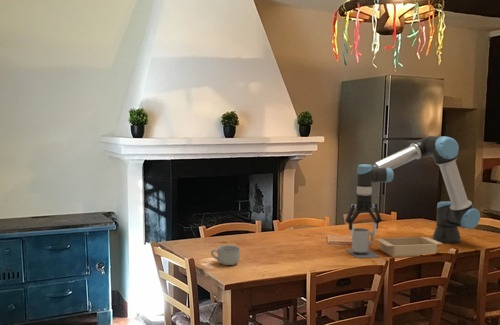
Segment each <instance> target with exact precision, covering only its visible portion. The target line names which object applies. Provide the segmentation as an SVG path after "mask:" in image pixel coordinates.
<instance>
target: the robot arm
mask: <svg viewBox="0 0 500 325" xmlns="http://www.w3.org/2000/svg"><path fill="white" fill-rule="evenodd" d="M459 147H460V146H459V143H458V142H457V140H455V139H454V138H452V137H450V136H445V135H444V136H437V135H436V136H435V135H430V136H427V137H423V138H421V139H419V140H418V139H417V141H414V142H412V143H411V144H409V146H408V147H406V148H403V149H401V150H399V151H397V152H395V153H392V154H391V155H388V156H386V157H384V158H382V159H380V160H377V161H375V162H374V163H373V162H372V163H371V164H370V163H369V164H368V163H367V164H366V163H365V164H364V163H363V164H361V163H360V164H358V165H357V170H356V203H355V204H353V203H351V204H350V207H349V210H348V212H347V216H346V218H345V223H347V224H348V230H350V234H349V235H350V237H351V238H352V237H354V228H355V220H356V219H357V217H358V216H359V214H361V213H368V214H369V216H370V218H371V219H372V220H373V222H372V233H373V237H374V236H375V237H376V236H377V230H378V229H379V223H381V222H382V220H383V219H382V217H381V214H380V211H379V209H378V204H377V203H374V202H373V201H372V193H373V190H372V189H373V183H374V184H375V183H391V182H393V180H394V177H395V176H394V175H395V173H394V171H393V170H394V169H396V168H399V167H401V166H402V165H405V164H407V163H409V162H411V161H413V160H420V159H423V158H429V157H430V158H432V159H433V160H434V163H435V164H436V165H437V166H439V170H440V172H441V175H442V178H443V181H444V185H445V188H446V190H447V194H448V196H449V200H450V201H439V202H437V207H436V226H435V229H434V232H433V234H432V239H433V240H436V241H438V242H440V243H443V244H444V243H445V244H458V243H461V240H462V238H461V234H460V232H459V227H460V228H463V229H468V230H469V229H471V230H472V229H474V228H475V227H477V226H478V224H479V222H480V221H481V213H480V211H479V209H477V208H474V206H473V203H472V201H471V200H469V199H468V197H467V193H466V191H465V187H464V184H463V181H462V178H461V175H460V171H459V169H458V165H457V161H456V160H457V159H458V155H459V151H460V148H459ZM372 202H373V203H372ZM355 209H356V210H355ZM372 209H373V211H374V213H373V211H372ZM354 211H355V212H354Z"/></svg>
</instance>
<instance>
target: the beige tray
mask: <svg viewBox="0 0 500 325" xmlns="http://www.w3.org/2000/svg"><path fill="white" fill-rule="evenodd" d="M374 240H375V241H377V242H379V250H381V251H382V252H384V253H385V254H387V255H389V256H391V257H392V258H402V257H403V258H406V257H407V258H408V257H409V258H410V256H411V257H418V256H417V255H423V254H430V253H437V254H438V245H443V244H444V243H443V242H438V241H436V240H433V238H431V237H428V236H412V237H411V236H410V237H408V236H407V237H406V236H405V237H383V238H374Z"/></svg>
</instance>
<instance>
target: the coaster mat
mask: <svg viewBox="0 0 500 325" xmlns="http://www.w3.org/2000/svg"><path fill="white" fill-rule="evenodd" d="M346 252H348V253H349V254H351V255H352V256H354V257H355V258H356V259H370V258H371V259H372V258H380V255H378V254H377V253H375V252H373V251H371V249H369V251H368V252H365V253H359V252H354V251H352V249H346Z"/></svg>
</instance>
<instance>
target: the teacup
mask: <svg viewBox="0 0 500 325" xmlns="http://www.w3.org/2000/svg"><path fill="white" fill-rule="evenodd" d="M240 251H241V247H239V246H237V245H233V244H225V245H224V244H223V245H219V246H218V248H213V249H212V250H211V252H210V255H211V257H212V258H213V259H216V261H218V262H219V263H220V264H221V265H223V266H226V265H232V266H234V265H236V264H237V263H238V262H240V258H241V257H240V256H241V252H240ZM214 252H216V253H217V256H216V255H214Z"/></svg>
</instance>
